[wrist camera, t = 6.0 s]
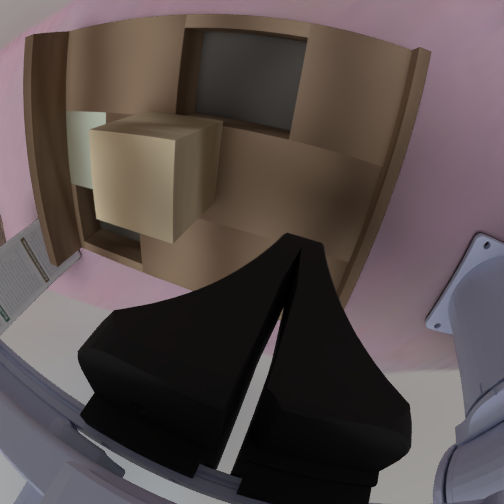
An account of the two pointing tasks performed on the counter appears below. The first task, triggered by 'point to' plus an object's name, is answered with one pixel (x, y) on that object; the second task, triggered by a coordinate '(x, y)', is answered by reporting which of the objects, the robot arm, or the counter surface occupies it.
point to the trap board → (227, 135)
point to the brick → (2, 233)
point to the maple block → (155, 172)
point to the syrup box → (25, 272)
